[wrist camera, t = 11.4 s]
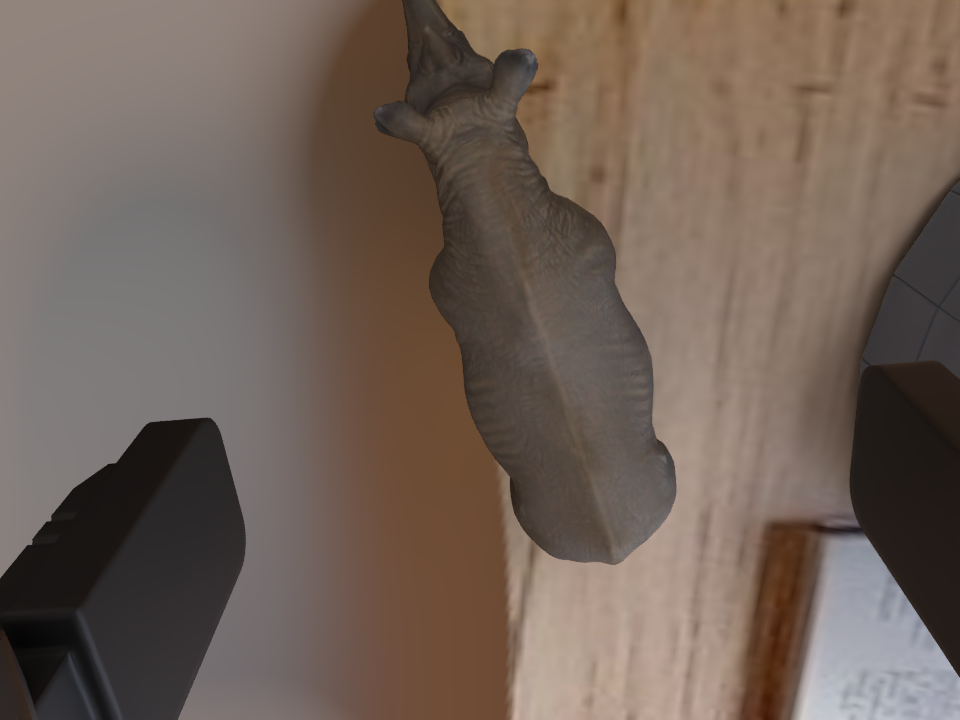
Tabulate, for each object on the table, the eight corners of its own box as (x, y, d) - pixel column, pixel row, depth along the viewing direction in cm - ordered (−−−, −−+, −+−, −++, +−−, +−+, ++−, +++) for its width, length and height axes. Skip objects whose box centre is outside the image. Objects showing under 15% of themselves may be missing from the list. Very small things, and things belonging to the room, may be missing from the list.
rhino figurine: (513, -78, 18) (522, -108, 12) (671, 451, 23) (728, 596, 17) (336, -8, 18) (270, -6, 13) (530, 492, 24) (542, 645, 18)
